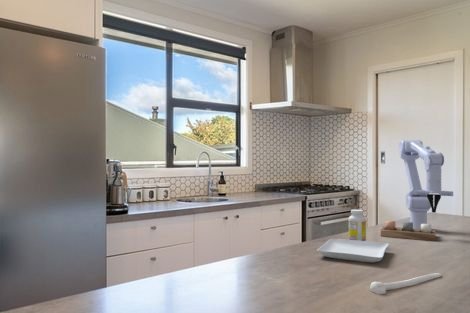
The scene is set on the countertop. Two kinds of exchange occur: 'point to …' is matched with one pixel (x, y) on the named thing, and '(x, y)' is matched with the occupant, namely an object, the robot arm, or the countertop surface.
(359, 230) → the supplement bottle
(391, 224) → the peach rounded cylinder
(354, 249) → the salad plate
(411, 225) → the grey rounded piece
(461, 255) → the countertop surface
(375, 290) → the white long rod
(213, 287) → the countertop surface
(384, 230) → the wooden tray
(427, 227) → the white rounded cylinder
